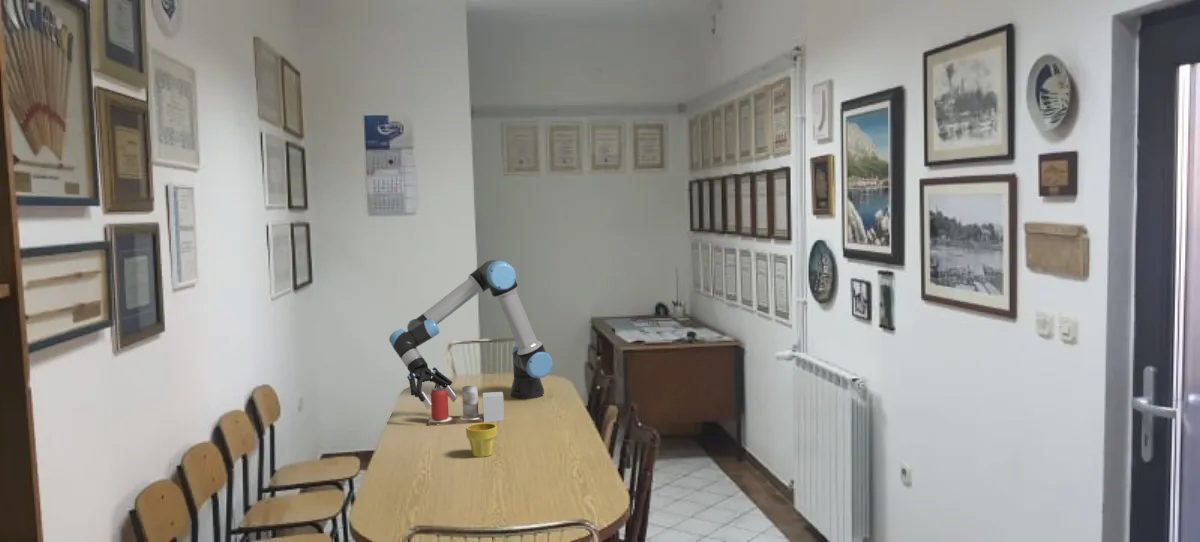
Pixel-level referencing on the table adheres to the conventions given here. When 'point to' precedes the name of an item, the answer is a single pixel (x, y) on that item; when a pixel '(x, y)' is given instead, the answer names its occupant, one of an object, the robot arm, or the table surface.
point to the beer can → (439, 404)
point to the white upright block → (493, 406)
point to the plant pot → (482, 438)
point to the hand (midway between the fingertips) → (442, 403)
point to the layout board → (464, 409)
